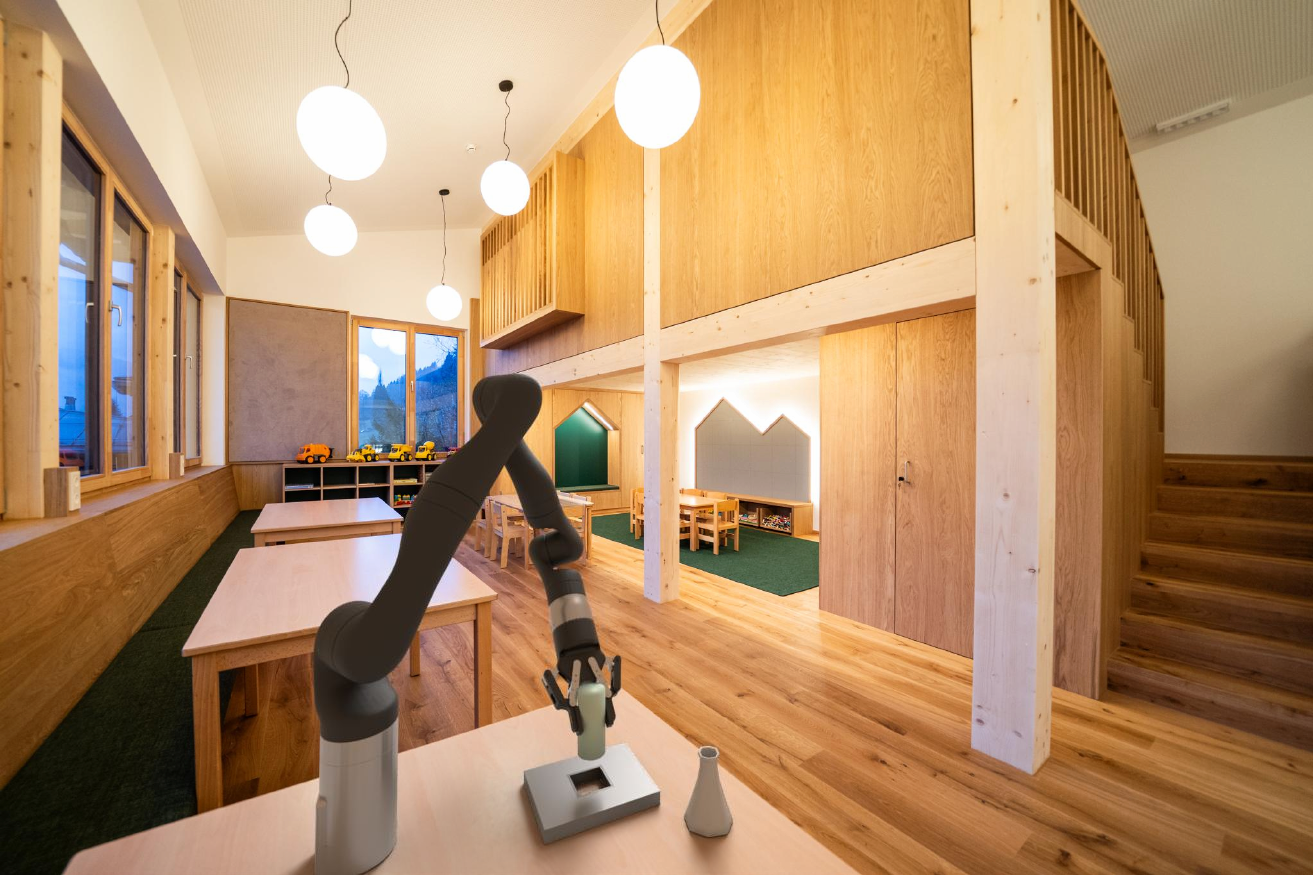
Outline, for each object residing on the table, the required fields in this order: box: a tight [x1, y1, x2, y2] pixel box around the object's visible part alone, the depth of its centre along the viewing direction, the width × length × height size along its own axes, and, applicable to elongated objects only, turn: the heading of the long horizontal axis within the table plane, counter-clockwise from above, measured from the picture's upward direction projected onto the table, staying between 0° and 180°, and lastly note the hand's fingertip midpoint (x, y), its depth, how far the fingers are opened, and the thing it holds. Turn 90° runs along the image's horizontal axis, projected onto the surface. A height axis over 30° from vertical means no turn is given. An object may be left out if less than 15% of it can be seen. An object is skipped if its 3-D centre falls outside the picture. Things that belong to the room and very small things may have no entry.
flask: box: [683, 745, 734, 838], centre depth 74 cm, size 7×7×10 cm
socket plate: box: [523, 742, 661, 846], centre depth 79 cm, size 18×14×2 cm
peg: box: [577, 683, 606, 761], centre depth 80 cm, size 4×4×10 cm
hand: (595, 729), depth 78 cm, fingers closed on peg, 4 cm apart
